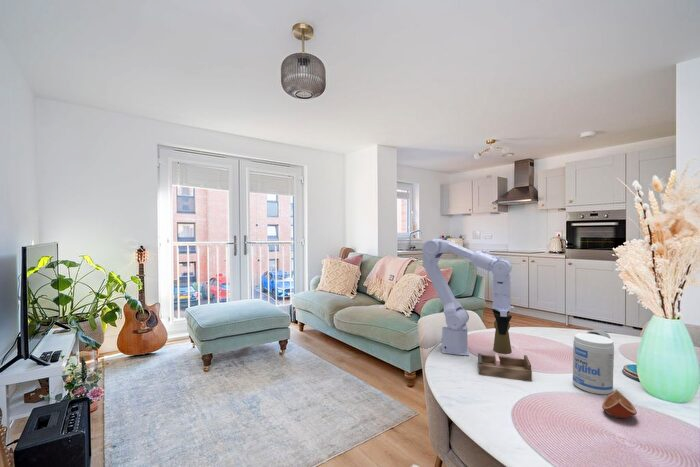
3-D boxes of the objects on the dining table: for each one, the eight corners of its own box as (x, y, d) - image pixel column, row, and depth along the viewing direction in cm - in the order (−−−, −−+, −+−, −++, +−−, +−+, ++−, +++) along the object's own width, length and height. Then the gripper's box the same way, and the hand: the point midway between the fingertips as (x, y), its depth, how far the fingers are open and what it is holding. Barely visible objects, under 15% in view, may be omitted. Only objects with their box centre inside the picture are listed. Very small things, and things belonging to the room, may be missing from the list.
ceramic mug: (612, 349, 128) (611, 329, 128) (606, 354, 123) (606, 333, 123) (579, 342, 136) (579, 324, 136) (573, 347, 131) (572, 328, 131)
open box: (479, 374, 107) (479, 360, 107) (478, 362, 116) (477, 349, 116) (531, 381, 102) (531, 366, 102) (526, 368, 111) (526, 354, 111)
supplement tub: (570, 388, 97) (570, 338, 97) (574, 377, 104) (575, 330, 104) (613, 399, 91) (613, 345, 91) (614, 386, 98) (614, 336, 98)
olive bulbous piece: (508, 348, 121) (508, 317, 121) (514, 354, 115) (513, 322, 115) (491, 347, 122) (490, 317, 122) (495, 353, 116) (494, 322, 116)
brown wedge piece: (602, 404, 88) (602, 385, 88) (635, 412, 84) (635, 393, 84) (602, 418, 82) (602, 398, 82) (638, 428, 78) (638, 407, 78)
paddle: (496, 372, 106) (496, 360, 106) (494, 363, 113) (494, 352, 113) (499, 372, 106) (499, 361, 106) (497, 363, 113) (497, 352, 113)
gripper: (517, 298, 110) (517, 339, 110) (511, 290, 124) (511, 327, 124) (493, 297, 112) (493, 337, 112) (490, 289, 126) (490, 325, 126)
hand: (501, 332), depth 118 cm, fingers closed on olive bulbous piece, 5 cm apart
